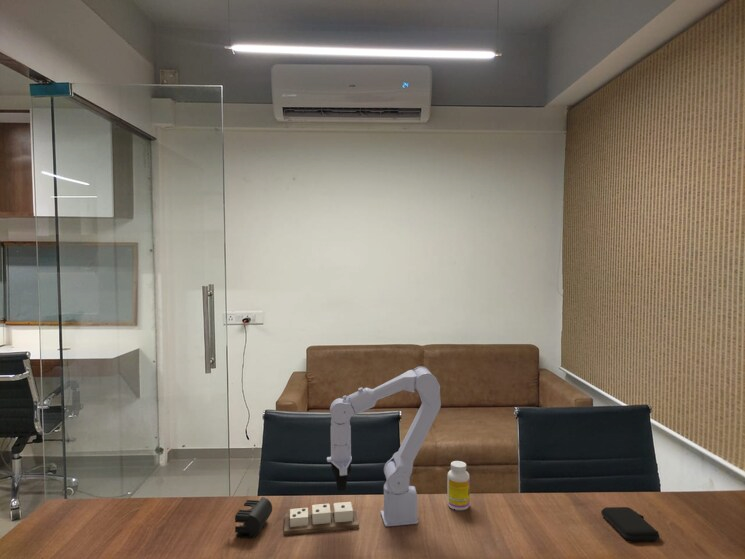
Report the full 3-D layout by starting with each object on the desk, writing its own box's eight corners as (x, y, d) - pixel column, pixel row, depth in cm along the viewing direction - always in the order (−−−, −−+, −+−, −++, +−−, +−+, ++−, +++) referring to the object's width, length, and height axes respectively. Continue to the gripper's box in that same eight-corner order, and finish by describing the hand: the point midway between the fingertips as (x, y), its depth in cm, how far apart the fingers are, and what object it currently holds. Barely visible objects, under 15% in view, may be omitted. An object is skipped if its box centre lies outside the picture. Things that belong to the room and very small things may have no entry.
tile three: (307, 517, 135) (307, 506, 135) (308, 527, 130) (308, 516, 130) (290, 519, 134) (290, 508, 134) (289, 529, 129) (289, 517, 129)
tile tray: (355, 512, 139) (355, 508, 139) (358, 528, 130) (358, 524, 130) (285, 518, 136) (285, 513, 136) (284, 535, 127) (284, 531, 127)
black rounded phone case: (667, 544, 123) (634, 514, 138) (667, 533, 123) (634, 504, 138) (627, 545, 123) (598, 515, 137) (627, 533, 123) (598, 505, 137)
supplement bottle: (471, 511, 139) (472, 468, 139) (449, 511, 139) (449, 468, 138) (466, 499, 146) (467, 459, 145) (445, 500, 146) (445, 459, 145)
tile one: (350, 511, 137) (350, 501, 136) (352, 521, 132) (352, 509, 132) (333, 513, 136) (333, 502, 136) (334, 522, 131) (334, 511, 131)
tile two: (329, 513, 136) (329, 502, 136) (330, 523, 131) (330, 511, 131) (312, 515, 135) (312, 504, 135) (312, 524, 130) (312, 513, 130)
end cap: (260, 541, 125) (259, 516, 124) (234, 539, 125) (234, 514, 125) (272, 520, 134) (272, 497, 134) (249, 518, 135) (248, 495, 135)
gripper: (325, 433, 139) (325, 478, 140) (328, 453, 125) (328, 503, 126) (348, 432, 141) (349, 477, 141) (354, 451, 126) (355, 501, 127)
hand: (341, 489), depth 133 cm, fingers closed
